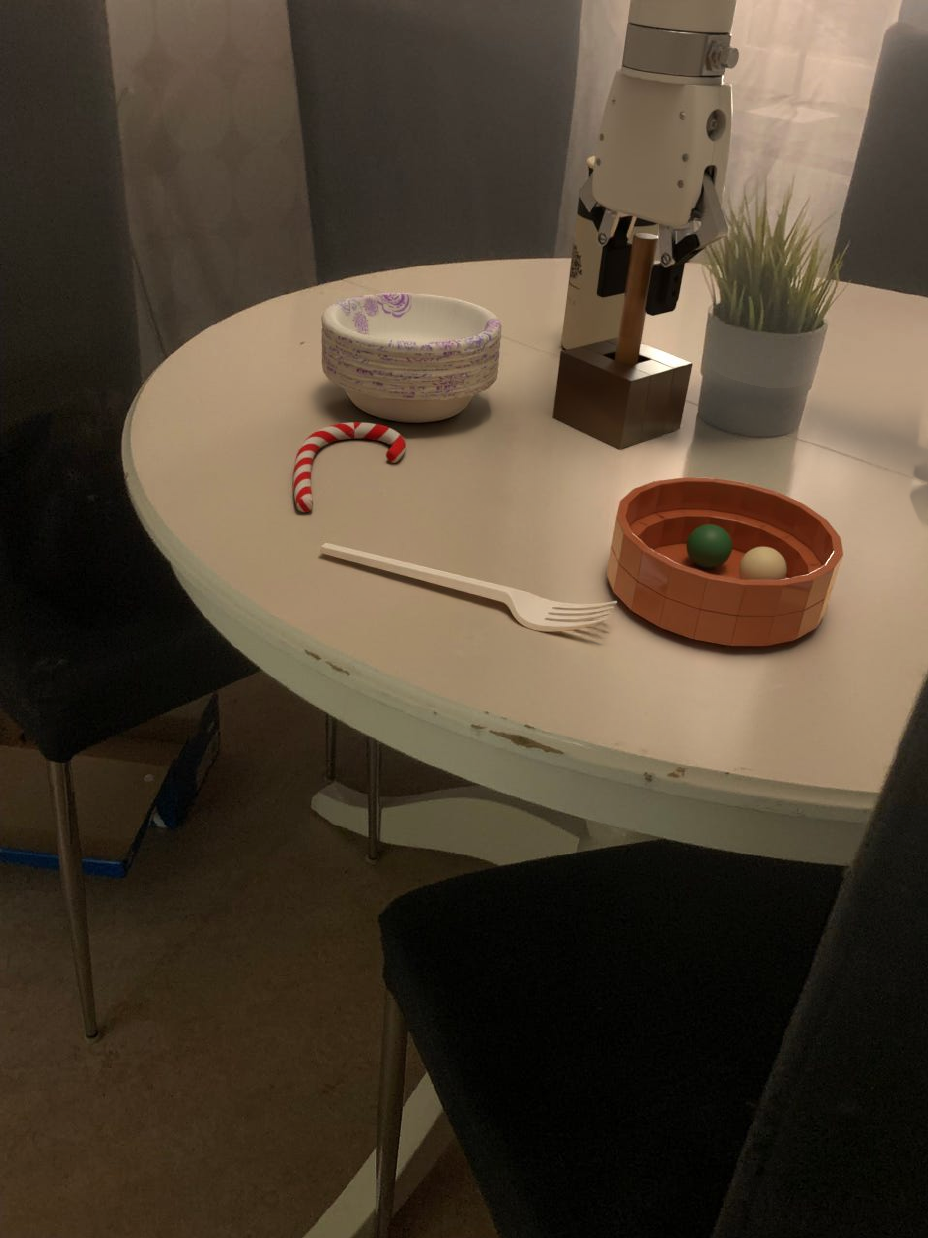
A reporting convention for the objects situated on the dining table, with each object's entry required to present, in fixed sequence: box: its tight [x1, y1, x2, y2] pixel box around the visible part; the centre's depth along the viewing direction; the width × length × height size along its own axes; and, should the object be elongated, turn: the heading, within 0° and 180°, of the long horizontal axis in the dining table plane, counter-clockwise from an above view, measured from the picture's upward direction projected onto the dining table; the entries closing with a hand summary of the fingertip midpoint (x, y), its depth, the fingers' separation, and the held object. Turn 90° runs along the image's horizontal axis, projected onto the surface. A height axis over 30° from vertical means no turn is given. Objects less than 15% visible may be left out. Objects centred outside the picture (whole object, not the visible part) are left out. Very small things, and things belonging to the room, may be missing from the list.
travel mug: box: [560, 155, 659, 350], centre depth 106 cm, size 8×8×18 cm
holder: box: [552, 337, 694, 450], centre depth 93 cm, size 8×8×6 cm
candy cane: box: [292, 421, 407, 513], centre depth 82 cm, size 8×1×15 cm
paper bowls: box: [320, 292, 502, 424], centre depth 93 cm, size 15×15×8 cm
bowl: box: [606, 476, 844, 647], centre depth 70 cm, size 14×14×5 cm
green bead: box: [687, 524, 732, 569], centre depth 73 cm, size 3×3×3 cm
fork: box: [318, 542, 618, 632], centre depth 69 cm, size 3×20×2 cm, turn 68°
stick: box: [614, 233, 659, 366], centre depth 90 cm, size 2×2×16 cm
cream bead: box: [739, 547, 787, 580], centre depth 70 cm, size 3×3×3 cm
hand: (635, 300), depth 89 cm, fingers open, 4 cm apart
